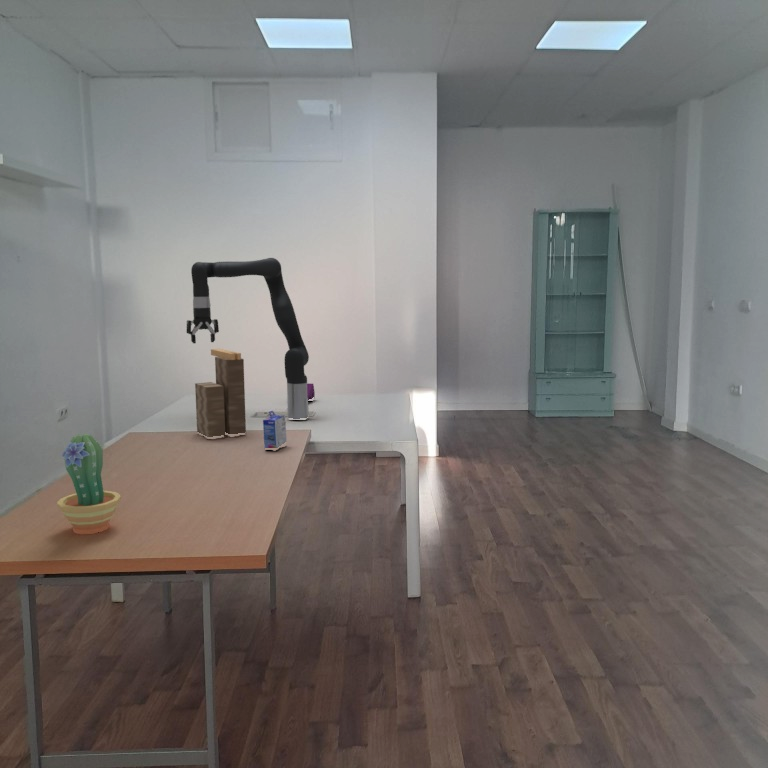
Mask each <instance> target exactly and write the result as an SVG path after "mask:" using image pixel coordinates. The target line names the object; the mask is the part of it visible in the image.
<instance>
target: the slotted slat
mask: <svg viewBox="0 0 768 768" xmlns="http://www.w3.org/2000/svg"><path fill="white" fill-rule="evenodd" d="M210 356H214V357H221V358H225V359H229V360H235V359H237V360H240V359H242V353H241V352H236V351H233V350H232V351H231V350H227V349H223V348H211V349H210Z"/></svg>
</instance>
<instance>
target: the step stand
mask: <svg viewBox="0 0 768 768" xmlns="http://www.w3.org/2000/svg"><path fill="white" fill-rule="evenodd" d="M244 361H245V360H244V358H241V359H240V360H237V359H235V360H229V359H225V358H221V357H217V356H214V362H215V363H214V365H215V368H214V369H215V382H212V381H208V382H197V383H194V386H195V387H194V389H195V390H194V391H195V409H196V411H195V412H196V413H195V414H196V415H195V416H196V433H197V432H199V433H201V434H203V435H205V436H207V437H213V436H221V435H225V432H226V433H228V434H238V433H245V432H246V433H247V428H246V427H247V426H246V425H247V423H246V396H245V395H246V392H245V390H246V389H245V363H244ZM225 436H226V435H225Z"/></svg>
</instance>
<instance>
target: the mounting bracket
mask: <svg viewBox="0 0 768 768" xmlns="http://www.w3.org/2000/svg"><path fill="white" fill-rule="evenodd" d="M313 397H314V398H315V387H314V383H307V398H308V400H309V399H312V398H313Z"/></svg>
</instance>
